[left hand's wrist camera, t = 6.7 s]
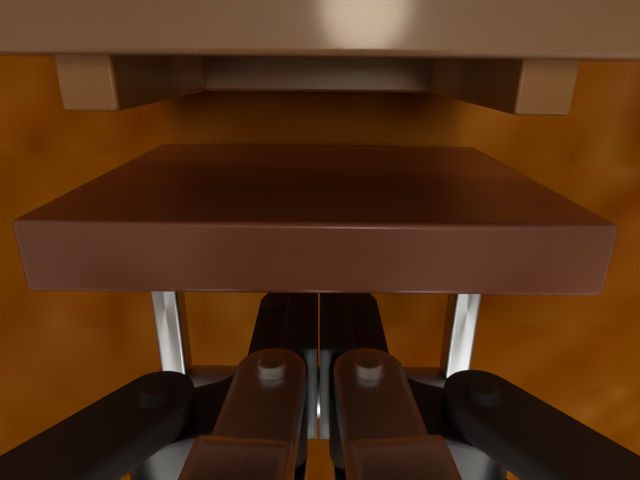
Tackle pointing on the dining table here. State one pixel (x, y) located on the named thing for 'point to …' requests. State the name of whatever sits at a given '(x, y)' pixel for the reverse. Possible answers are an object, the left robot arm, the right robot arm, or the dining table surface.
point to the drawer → (315, 202)
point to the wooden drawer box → (325, 28)
